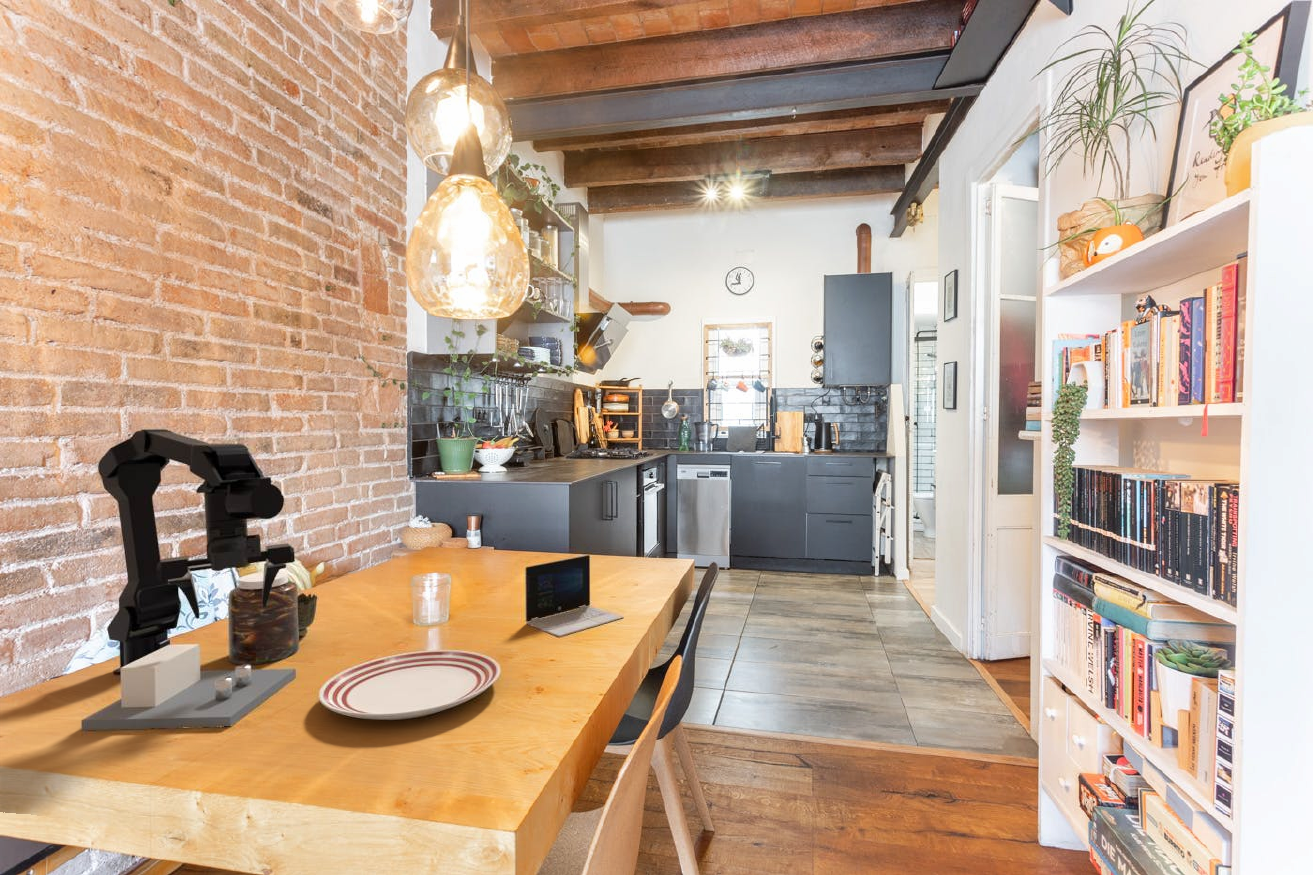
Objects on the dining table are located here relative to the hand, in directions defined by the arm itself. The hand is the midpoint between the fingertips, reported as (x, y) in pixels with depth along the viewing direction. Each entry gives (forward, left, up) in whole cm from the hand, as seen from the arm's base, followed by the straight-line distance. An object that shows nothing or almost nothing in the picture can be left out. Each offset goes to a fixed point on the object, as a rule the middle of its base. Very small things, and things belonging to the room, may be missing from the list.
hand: (231, 612), depth 106 cm
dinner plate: (+31, -4, -13) cm, 34 cm away
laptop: (+54, +33, -13) cm, 65 cm away
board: (-2, -5, -13) cm, 14 cm away
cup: (-3, +26, -13) cm, 29 cm away
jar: (-4, +16, -13) cm, 21 cm away
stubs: (+3, -5, -11) cm, 13 cm away
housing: (-8, -5, -11) cm, 15 cm away
